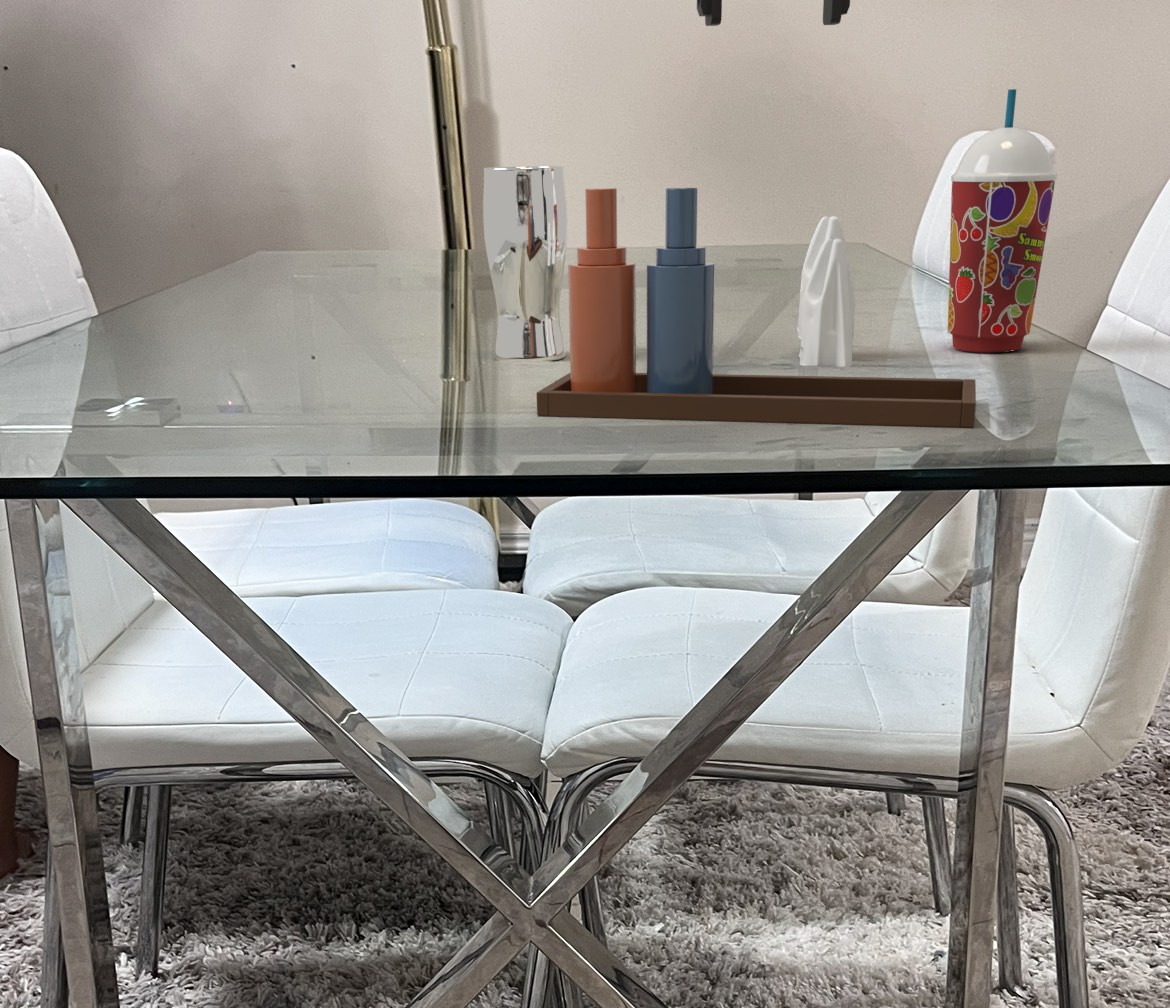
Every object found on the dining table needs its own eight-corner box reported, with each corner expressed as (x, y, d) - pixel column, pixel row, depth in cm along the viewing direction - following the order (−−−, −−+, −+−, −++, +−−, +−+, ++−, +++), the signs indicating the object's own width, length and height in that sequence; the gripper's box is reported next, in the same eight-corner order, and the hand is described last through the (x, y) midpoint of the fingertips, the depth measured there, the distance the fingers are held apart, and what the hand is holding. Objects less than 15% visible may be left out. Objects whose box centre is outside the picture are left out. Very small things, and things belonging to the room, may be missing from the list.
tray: (972, 411, 93) (975, 379, 92) (972, 437, 85) (975, 402, 84) (572, 401, 100) (571, 371, 99) (537, 425, 92) (536, 392, 91)
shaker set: (795, 352, 120) (801, 213, 115) (844, 352, 120) (852, 212, 115) (800, 374, 109) (806, 221, 105) (854, 374, 109) (863, 221, 104)
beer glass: (552, 364, 116) (547, 167, 110) (476, 362, 118) (466, 168, 112) (582, 353, 122) (578, 165, 116) (508, 350, 124) (501, 166, 118)
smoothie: (1035, 356, 115) (1065, 86, 107) (932, 354, 118) (953, 89, 110) (1039, 343, 123) (1068, 89, 114) (942, 341, 125) (963, 92, 117)
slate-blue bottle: (717, 402, 95) (722, 186, 89) (706, 413, 91) (710, 188, 85) (653, 400, 96) (654, 186, 90) (640, 412, 92) (640, 189, 86)
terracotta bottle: (642, 400, 96) (642, 186, 90) (628, 411, 92) (627, 189, 87) (580, 398, 97) (576, 187, 91) (563, 410, 93) (558, 190, 88)
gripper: (686, -274, 87) (684, 21, 94) (906, -270, 89) (888, 19, 96) (664, -243, 94) (663, 30, 101) (869, -241, 96) (854, 28, 102)
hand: (773, 24), depth 98 cm, fingers open, 8 cm apart
